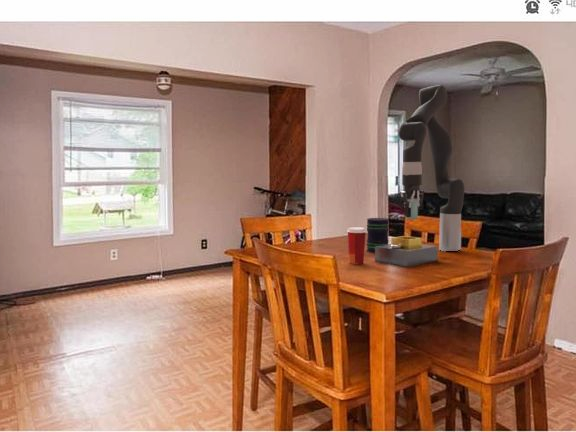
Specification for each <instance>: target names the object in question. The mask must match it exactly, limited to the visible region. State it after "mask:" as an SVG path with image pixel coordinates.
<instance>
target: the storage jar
mask: <svg viewBox="0 0 576 432" xmlns="http://www.w3.org/2000/svg"><path fill="white" fill-rule="evenodd" d="M389 222H390V221H389V218H387V217H386V218H384V217H369V218H367V219H366V223H367V224H366V232H367V237H366V238H367V239H366V252H367V253H372V254H375V246H382V245H388V244H389V239H388V238H389V230H390V229H389V226H390V225H389V224H390V223H389Z"/></svg>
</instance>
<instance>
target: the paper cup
mask: <svg viewBox="0 0 576 432" xmlns="http://www.w3.org/2000/svg"><path fill="white" fill-rule="evenodd" d="M346 232H347V243H348V246H347V248H348V262H349V264H351V265H363V264H364V259H365V247H366V246H365V245H366V233H367V229H366V228H365V227H357V226H356V227H355V226H354V227H348V228H347V230H346Z"/></svg>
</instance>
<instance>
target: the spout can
mask: <svg viewBox="0 0 576 432" xmlns="http://www.w3.org/2000/svg"><path fill="white" fill-rule="evenodd" d="M407 200H410V199H407ZM408 204H409V202H408ZM410 208H411V217H405V219H406V220H418V216H417V212H418V213H419V209H418V199H417V198H416V199H413V202H412V203H411V207H410Z"/></svg>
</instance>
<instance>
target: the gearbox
mask: <svg viewBox="0 0 576 432" xmlns="http://www.w3.org/2000/svg"><path fill="white" fill-rule="evenodd" d="M390 242H391V244H390V243H388V245H382V246H375V253H374V261H375V262H379V263H383V264H384V263H385V264H389V265H394V266H399V267H403V268H404V267H405V268H409V267H413V266H419V265H422V264H423V265H424V264H428V263H433V262H437V261H438V252H439V251H438V250H439V245H430V244H424V243H423V238H422V237H417V236H408V235H402V236H396V237H391V240H390Z"/></svg>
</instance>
